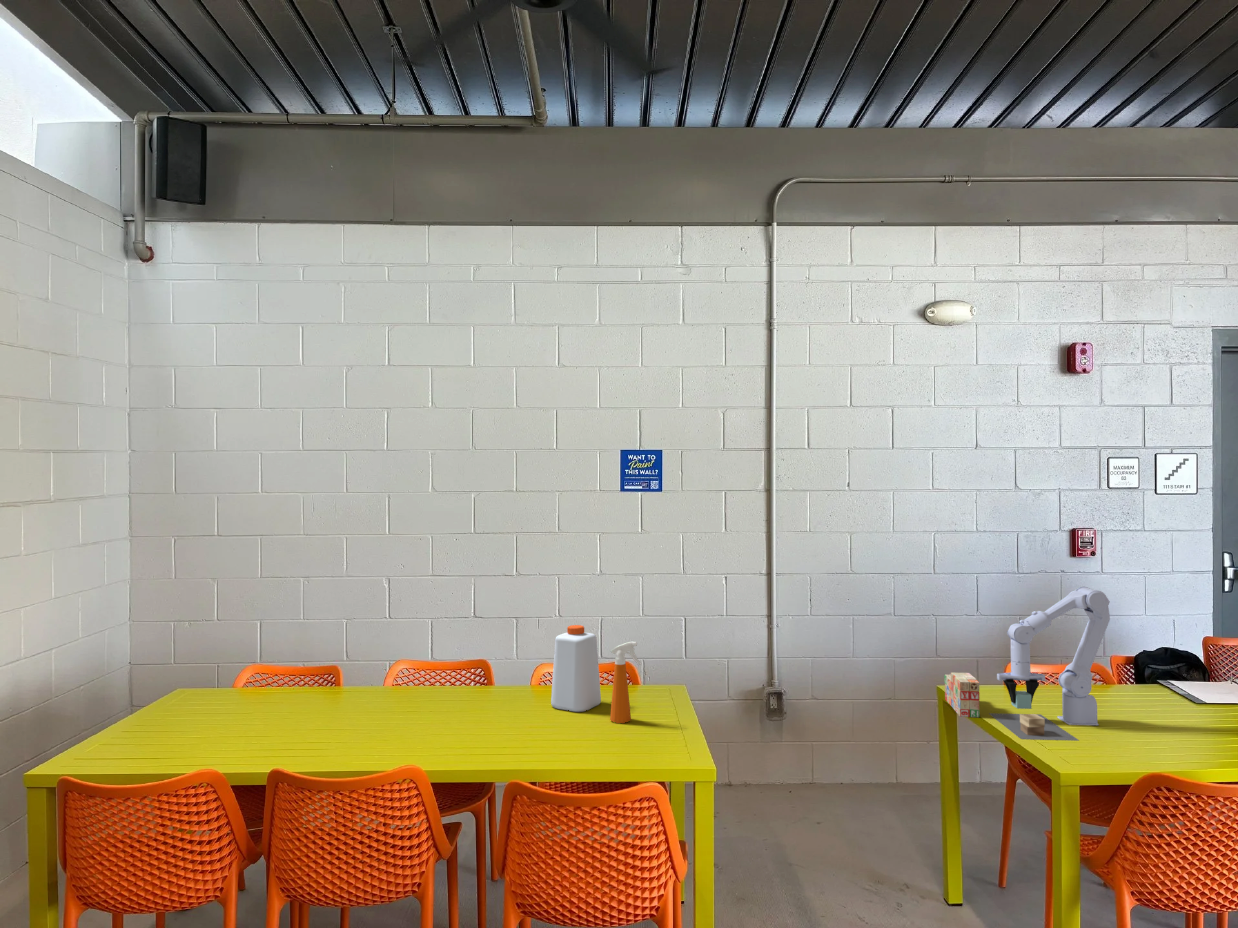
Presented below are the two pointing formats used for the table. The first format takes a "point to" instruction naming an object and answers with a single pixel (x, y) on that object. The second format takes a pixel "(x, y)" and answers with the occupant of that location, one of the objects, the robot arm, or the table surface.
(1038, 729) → the walnut slab
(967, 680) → the stack of blocks
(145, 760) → the table surface
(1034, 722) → the oak slab
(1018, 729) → the rubber mat
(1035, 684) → the robot arm
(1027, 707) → the teal cube
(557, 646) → the plastic bottle
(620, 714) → the spray bottle
